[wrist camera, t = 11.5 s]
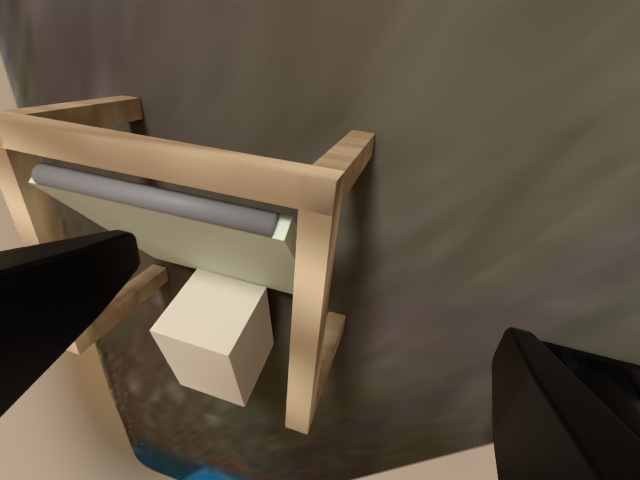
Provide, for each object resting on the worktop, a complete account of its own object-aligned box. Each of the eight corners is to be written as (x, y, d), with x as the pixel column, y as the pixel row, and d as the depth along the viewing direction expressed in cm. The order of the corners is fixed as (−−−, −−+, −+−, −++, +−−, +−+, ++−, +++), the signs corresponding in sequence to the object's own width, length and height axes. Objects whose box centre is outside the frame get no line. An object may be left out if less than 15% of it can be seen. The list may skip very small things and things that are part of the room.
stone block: (228, 356, 19) (244, 407, 24) (266, 287, 22) (273, 343, 27) (149, 330, 20) (180, 384, 25) (197, 268, 23) (216, 326, 28)
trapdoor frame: (122, 95, 21) (-28, 114, 14) (375, 133, 18) (336, 182, 11) (155, 276, 27) (63, 349, 21) (343, 328, 24) (307, 434, 17)
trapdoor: (30, 156, 15) (17, 175, 15) (289, 210, 13) (281, 235, 12) (161, 245, 25) (155, 258, 24) (322, 285, 22) (318, 301, 22)
